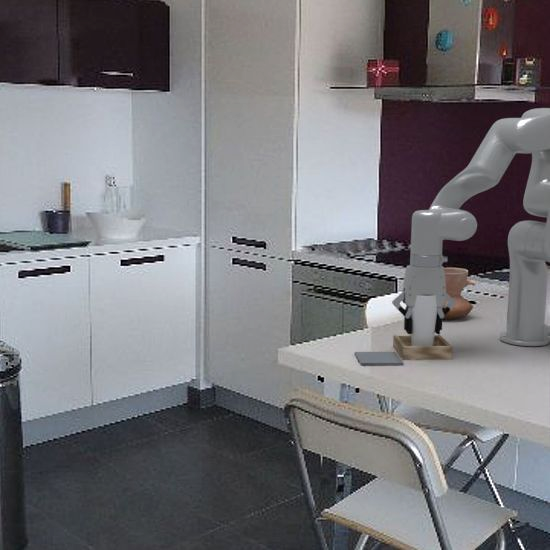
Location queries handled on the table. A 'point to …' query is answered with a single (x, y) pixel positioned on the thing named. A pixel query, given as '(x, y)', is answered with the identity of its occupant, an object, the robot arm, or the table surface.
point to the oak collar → (422, 348)
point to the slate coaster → (378, 358)
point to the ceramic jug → (457, 292)
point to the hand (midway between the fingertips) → (422, 332)
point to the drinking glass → (424, 321)
